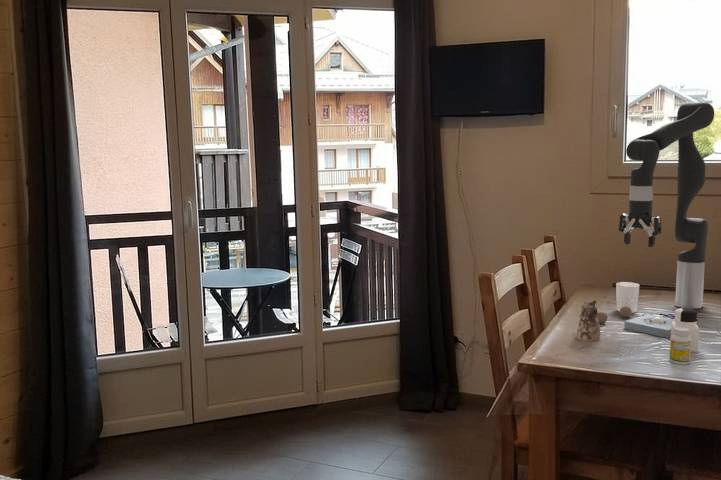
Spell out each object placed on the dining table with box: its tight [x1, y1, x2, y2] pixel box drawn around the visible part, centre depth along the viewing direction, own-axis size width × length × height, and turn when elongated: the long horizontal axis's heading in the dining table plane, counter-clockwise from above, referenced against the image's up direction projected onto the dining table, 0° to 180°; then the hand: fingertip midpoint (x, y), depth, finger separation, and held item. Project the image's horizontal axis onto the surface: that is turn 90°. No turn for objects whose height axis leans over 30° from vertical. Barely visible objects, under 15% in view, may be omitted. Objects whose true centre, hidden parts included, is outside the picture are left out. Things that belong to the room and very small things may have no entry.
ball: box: [651, 317, 664, 324], centre depth 239 cm, size 4×4×4 cm
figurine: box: [576, 300, 602, 342], centre depth 228 cm, size 7×7×12 cm
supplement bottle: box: [669, 327, 692, 365], centre depth 203 cm, size 5×5×10 cm
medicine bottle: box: [669, 307, 700, 353], centre depth 216 cm, size 7×7×12 cm
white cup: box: [615, 281, 640, 314], centre depth 264 cm, size 8×8×10 cm
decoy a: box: [619, 306, 633, 319], centre depth 255 cm, size 4×4×4 cm
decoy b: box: [597, 311, 608, 324], centre depth 247 cm, size 4×4×4 cm
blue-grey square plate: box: [623, 313, 675, 339], centre depth 239 cm, size 15×15×2 cm
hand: (639, 245), depth 249 cm, fingers open, 8 cm apart
